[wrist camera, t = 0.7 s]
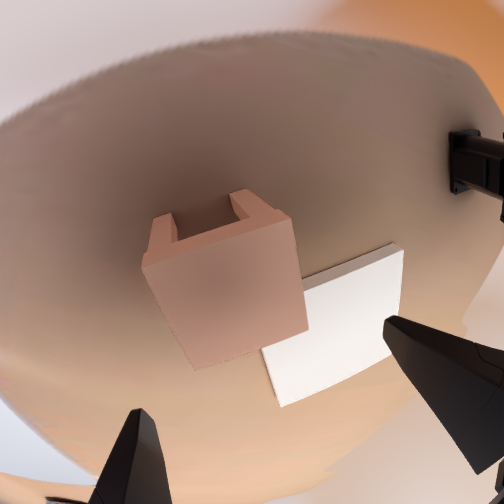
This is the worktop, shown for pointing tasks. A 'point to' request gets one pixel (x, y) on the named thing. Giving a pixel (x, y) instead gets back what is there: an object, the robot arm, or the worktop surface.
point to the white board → (338, 325)
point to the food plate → (51, 503)
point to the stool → (228, 282)
